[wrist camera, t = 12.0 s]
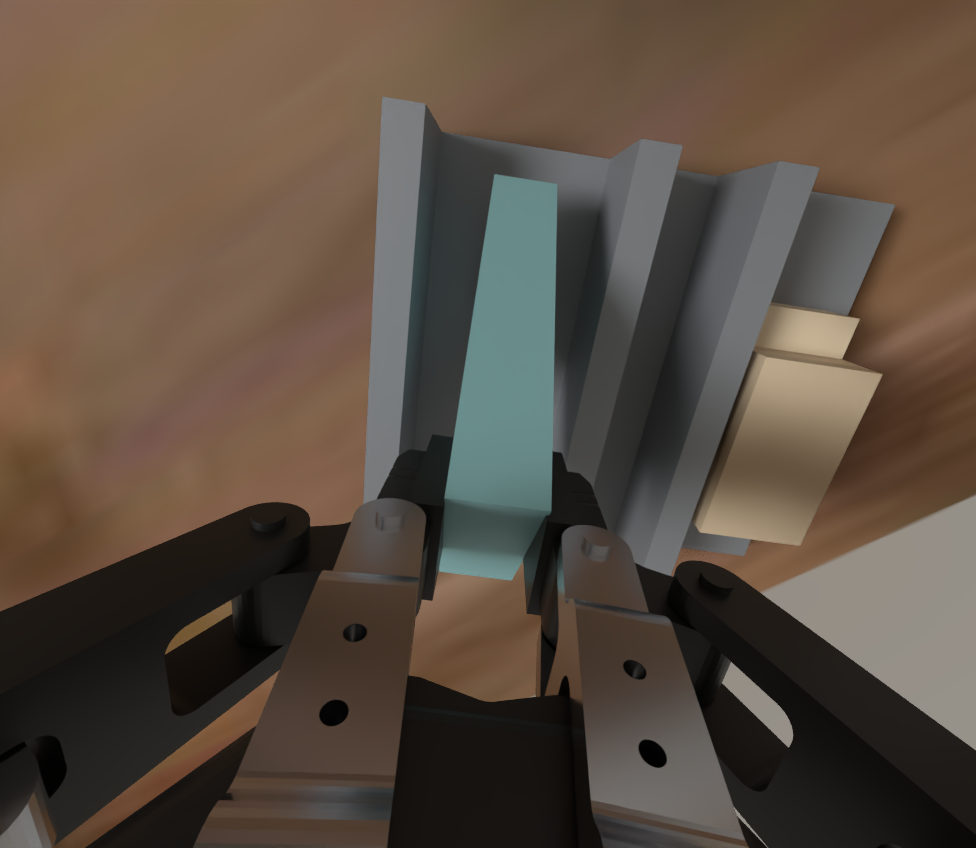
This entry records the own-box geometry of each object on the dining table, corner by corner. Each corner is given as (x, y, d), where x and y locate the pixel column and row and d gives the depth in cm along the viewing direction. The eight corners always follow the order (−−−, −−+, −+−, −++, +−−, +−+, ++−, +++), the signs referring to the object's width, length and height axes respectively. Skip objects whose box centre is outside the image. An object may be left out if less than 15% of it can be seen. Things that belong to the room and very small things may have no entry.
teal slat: (494, 173, 15) (444, 497, 9) (557, 183, 15) (551, 511, 9) (479, 296, 19) (439, 571, 13) (528, 303, 19) (511, 580, 13)
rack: (402, 132, 18) (364, 94, 13) (865, 206, 19) (1003, 197, 14) (380, 490, 24) (348, 560, 19) (730, 537, 25) (790, 617, 20)
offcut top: (737, 343, 17) (766, 357, 15) (842, 359, 17) (882, 374, 16) (681, 504, 20) (699, 532, 18) (772, 516, 20) (799, 545, 18)
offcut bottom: (726, 295, 19) (751, 302, 17) (824, 310, 19) (860, 318, 17) (668, 472, 22) (684, 494, 20) (752, 483, 22) (776, 507, 20)
